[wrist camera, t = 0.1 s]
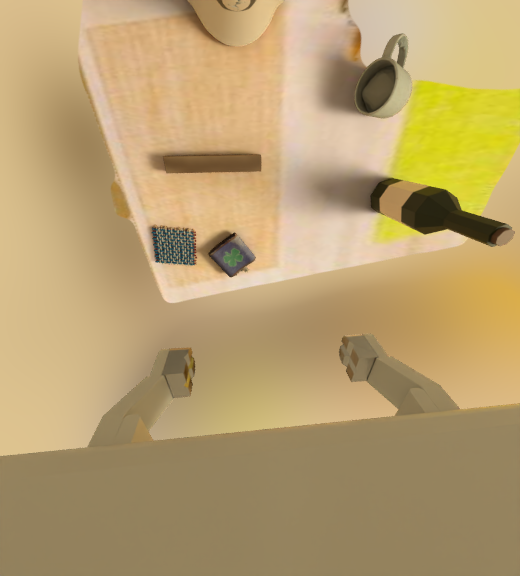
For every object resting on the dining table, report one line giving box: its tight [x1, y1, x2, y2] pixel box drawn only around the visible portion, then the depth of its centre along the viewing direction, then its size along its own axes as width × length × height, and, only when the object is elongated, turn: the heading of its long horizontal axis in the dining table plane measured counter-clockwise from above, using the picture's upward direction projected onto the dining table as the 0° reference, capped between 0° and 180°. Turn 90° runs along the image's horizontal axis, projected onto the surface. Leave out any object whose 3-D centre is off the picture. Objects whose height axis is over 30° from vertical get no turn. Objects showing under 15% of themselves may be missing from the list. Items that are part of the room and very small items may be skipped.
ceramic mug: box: [354, 34, 412, 118], centre depth 40 cm, size 11×8×8 cm
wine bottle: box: [371, 178, 515, 247], centre depth 44 cm, size 8×8×30 cm
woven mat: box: [152, 225, 197, 266], centre depth 58 cm, size 10×11×2 cm
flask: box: [208, 233, 256, 277], centre depth 60 cm, size 9×3×11 cm
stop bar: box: [163, 155, 261, 173], centre depth 48 cm, size 3×20×3 cm, turn 91°
